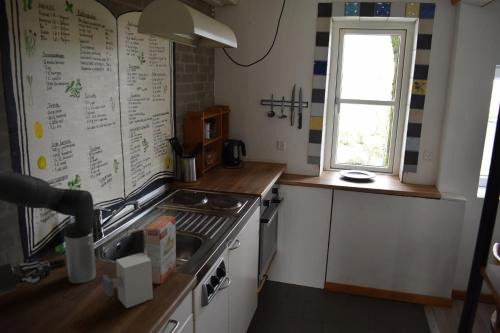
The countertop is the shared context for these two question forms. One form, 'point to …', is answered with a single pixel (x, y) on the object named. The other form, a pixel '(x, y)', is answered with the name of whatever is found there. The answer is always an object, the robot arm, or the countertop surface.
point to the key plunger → (110, 284)
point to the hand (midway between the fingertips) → (64, 262)
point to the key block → (134, 279)
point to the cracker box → (161, 247)
